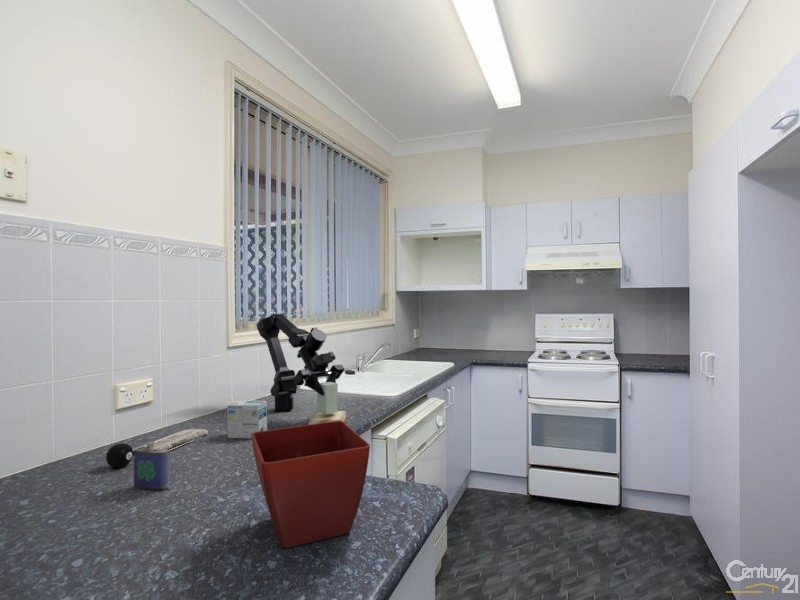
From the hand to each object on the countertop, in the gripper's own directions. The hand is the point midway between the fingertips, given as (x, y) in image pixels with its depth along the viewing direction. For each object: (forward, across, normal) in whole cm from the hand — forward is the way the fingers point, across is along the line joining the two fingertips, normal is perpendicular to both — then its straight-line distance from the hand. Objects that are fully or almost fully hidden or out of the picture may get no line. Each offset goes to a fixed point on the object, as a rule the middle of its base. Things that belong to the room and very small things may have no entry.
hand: (329, 393), depth 155 cm
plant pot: (+46, -45, -31) cm, 71 cm away
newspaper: (-6, -45, +22) cm, 51 cm away
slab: (+7, 0, +8) cm, 11 cm away
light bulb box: (+1, -25, +15) cm, 29 cm away
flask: (+16, -60, -1) cm, 62 cm away
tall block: (+4, 0, +6) cm, 7 cm away
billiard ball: (+1, -62, +14) cm, 63 cm away
